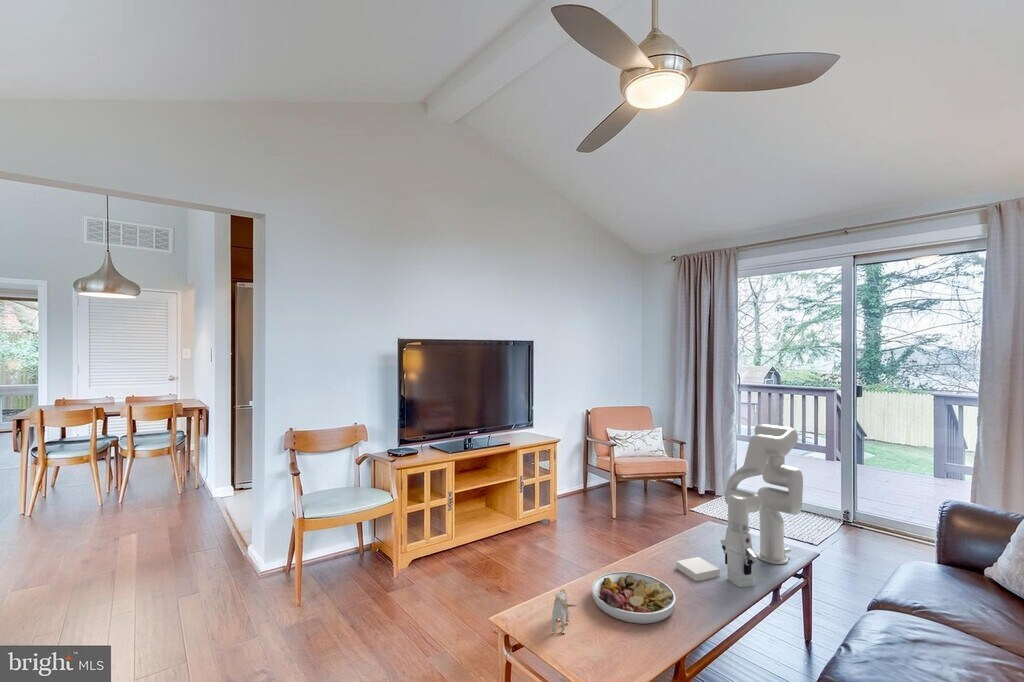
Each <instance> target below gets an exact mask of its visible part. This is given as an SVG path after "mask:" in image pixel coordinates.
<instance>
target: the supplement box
mask: <svg viewBox="0 0 1024 682" xmlns="http://www.w3.org/2000/svg"><path fill="white" fill-rule="evenodd" d="M748 555H749V554H746V556H748ZM749 556H750V555H749ZM750 558H751V557H750ZM746 559H747V561H748V558H746ZM744 564H745V562H744V560H743V558H742V555H740V554H738V553H736V552H734V551H732V550H730V549H728V548H727V564H726V565H727V566H726V569H727V570H726V572H727V573H726V574H727V575H726V576H727V578H726V579H727V580H728V581H729V582H731V583H733V585H735V586H737V587H738V588H746V587H753V586H755V563H753V565H751V574H750V575H745V574H744Z"/></svg>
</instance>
